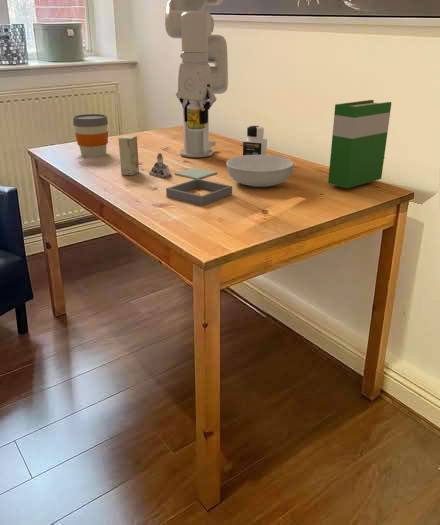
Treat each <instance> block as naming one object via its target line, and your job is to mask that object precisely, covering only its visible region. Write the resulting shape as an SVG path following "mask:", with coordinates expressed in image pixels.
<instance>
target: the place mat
mask: <svg viewBox="0 0 440 525" xmlns="http://www.w3.org/2000/svg"><path fill="white" fill-rule="evenodd" d="M216 174H218V172H217V171H215V170H214V171H213V170H208V169H203V168H200V167H192V168H188V169H184V170H181V171H179V172H178V171H177V172H175V173H174V175H175V176H180V177H184V178H188V179H191V180H194V179H201V180H202V179H203V178H207V177H211V176H213V175H216Z"/></svg>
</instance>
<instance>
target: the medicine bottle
mask: <svg viewBox="0 0 440 525" xmlns="http://www.w3.org/2000/svg"><path fill="white" fill-rule="evenodd" d="M246 130H247V131H246V137H247V138H246V139H245V140H243V141H242V156H244V155H268V154H267V152H268V149H267V146H268V139H267V138H264V137H265V136H264V135H265V134H264V131H265V128H264V127H263V126H261V125H250V126H248V127H247V129H246Z"/></svg>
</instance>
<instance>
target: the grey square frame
mask: <svg viewBox="0 0 440 525" xmlns="http://www.w3.org/2000/svg"><path fill="white" fill-rule="evenodd" d="M197 188H198V189H201V190H206V191H209V192H208V193H206V194H203V195H200V194H197V193H196V194H195V193H191V192H189V191H190V190H193V189H194V190H195V189H197ZM165 190H166V192H165V193H166V198H170V199H175V200H177V201H181V202H186V203H189V204H193V205H196V206H200V207H201V206H202V207H203V206H206V205H208V204H211V203H214V202H217V201H219V200H222V199H224V198H226V197H230V196H231V195H233V186H232V185H227V184H224V183H218V182H214V181H210V180H206V179H205V180H204V179H202V178H201V179H191V180H188V181H185V182H181V183H179V184H176V185H172V186H168V187H166V188H165Z"/></svg>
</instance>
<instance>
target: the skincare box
mask: <svg viewBox="0 0 440 525" xmlns="http://www.w3.org/2000/svg"><path fill="white" fill-rule="evenodd" d="M118 148H119V150H118V151H119V161H120V174H121V175H123V176H135V175H136V174H137V173H139V172H140V165H139V163H140V162H139V149H138V148H139V147H138V136H137V135H131V134H130V135H127V134H126V135H123V136H121V137H118Z"/></svg>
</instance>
